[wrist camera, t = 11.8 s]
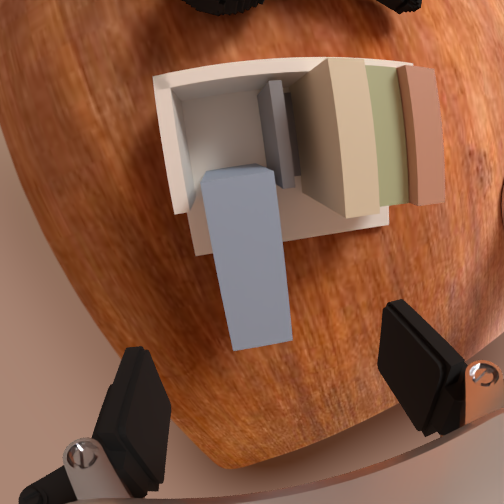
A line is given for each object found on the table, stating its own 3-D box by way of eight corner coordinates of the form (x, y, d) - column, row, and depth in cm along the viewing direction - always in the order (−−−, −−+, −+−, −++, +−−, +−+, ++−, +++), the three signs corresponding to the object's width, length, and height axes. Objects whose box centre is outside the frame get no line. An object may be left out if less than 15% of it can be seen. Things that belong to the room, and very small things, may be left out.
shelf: (371, 77, 24) (441, 54, 14) (384, 222, 28) (451, 259, 19) (169, 94, 23) (139, 62, 13) (196, 252, 28) (185, 311, 18)
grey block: (255, 163, 25) (273, 171, 17) (272, 286, 28) (292, 340, 20) (206, 171, 24) (200, 182, 16) (228, 294, 28) (233, 350, 20)
